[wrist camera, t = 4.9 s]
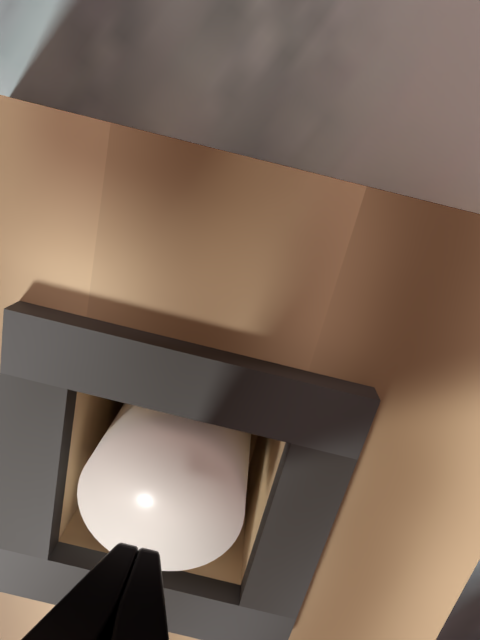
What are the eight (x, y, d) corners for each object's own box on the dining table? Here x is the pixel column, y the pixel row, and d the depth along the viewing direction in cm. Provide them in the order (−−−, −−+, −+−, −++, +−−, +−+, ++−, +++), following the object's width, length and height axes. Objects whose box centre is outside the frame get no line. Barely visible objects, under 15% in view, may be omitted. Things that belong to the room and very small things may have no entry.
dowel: (266, 356, 15) (263, 456, 10) (239, 452, 16) (224, 586, 11) (152, 328, 15) (87, 413, 10) (134, 427, 16) (68, 549, 11)
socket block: (495, 221, 14) (672, 261, 8) (343, 583, 19) (377, 779, 13) (6, 99, 14) (-207, 43, 8) (-14, 497, 19) (-152, 655, 13)
